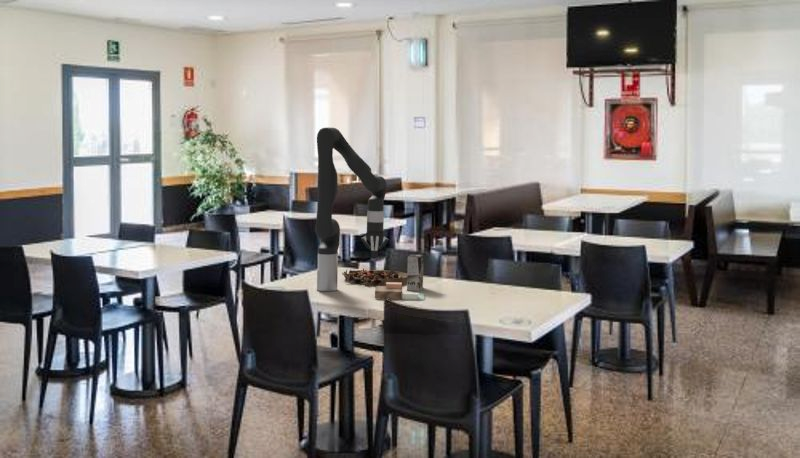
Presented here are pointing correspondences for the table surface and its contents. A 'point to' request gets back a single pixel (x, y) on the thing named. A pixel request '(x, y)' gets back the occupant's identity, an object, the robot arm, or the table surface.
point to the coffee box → (415, 272)
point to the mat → (420, 297)
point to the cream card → (409, 295)
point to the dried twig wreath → (374, 277)
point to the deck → (388, 292)
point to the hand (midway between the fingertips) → (374, 258)
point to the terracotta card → (393, 285)
